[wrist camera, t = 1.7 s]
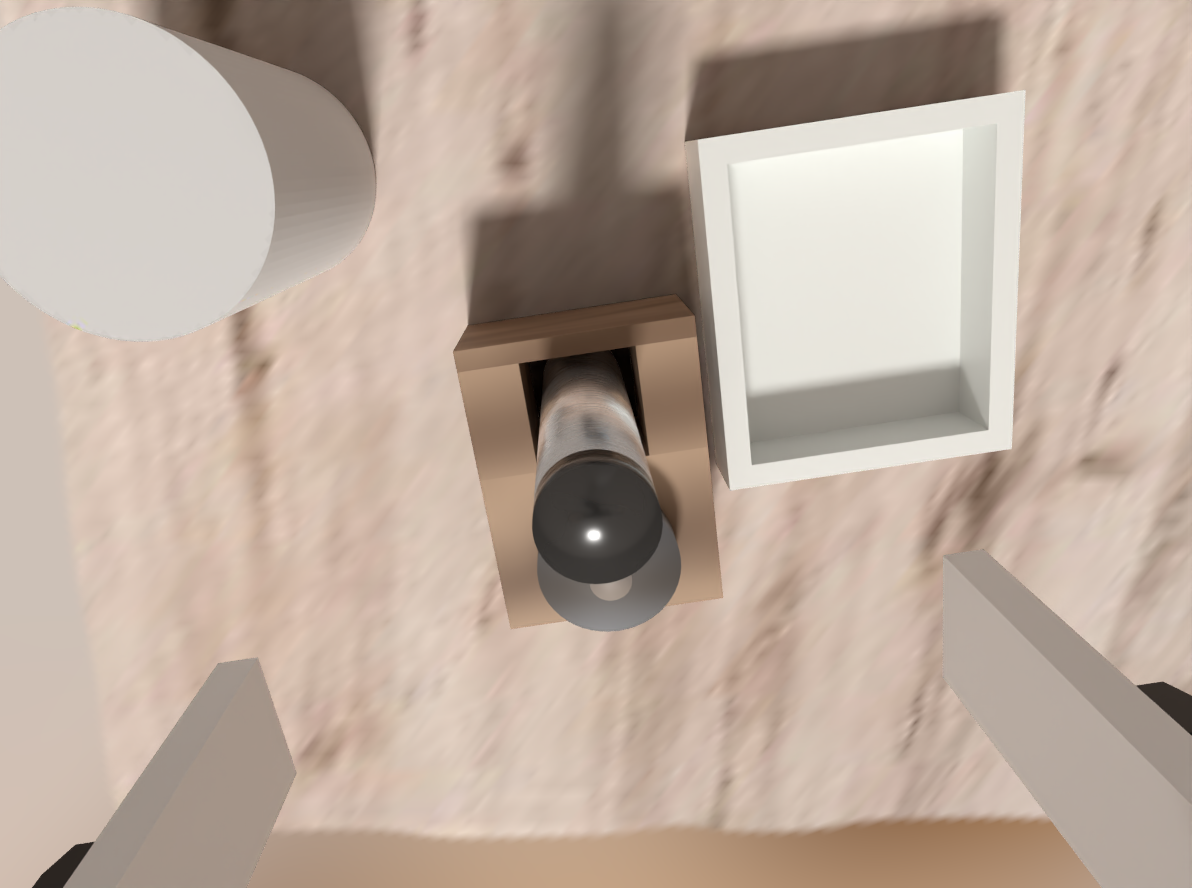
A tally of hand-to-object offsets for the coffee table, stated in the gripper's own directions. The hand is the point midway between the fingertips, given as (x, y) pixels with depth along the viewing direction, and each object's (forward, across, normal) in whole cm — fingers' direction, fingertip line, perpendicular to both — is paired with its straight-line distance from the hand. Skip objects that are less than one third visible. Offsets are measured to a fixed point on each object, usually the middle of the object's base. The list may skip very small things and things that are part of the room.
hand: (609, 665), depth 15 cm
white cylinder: (+21, -11, +10) cm, 26 cm away
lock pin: (+21, 0, 0) cm, 21 cm away
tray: (+21, +12, +2) cm, 24 cm away
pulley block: (+21, 0, -3) cm, 21 cm away
